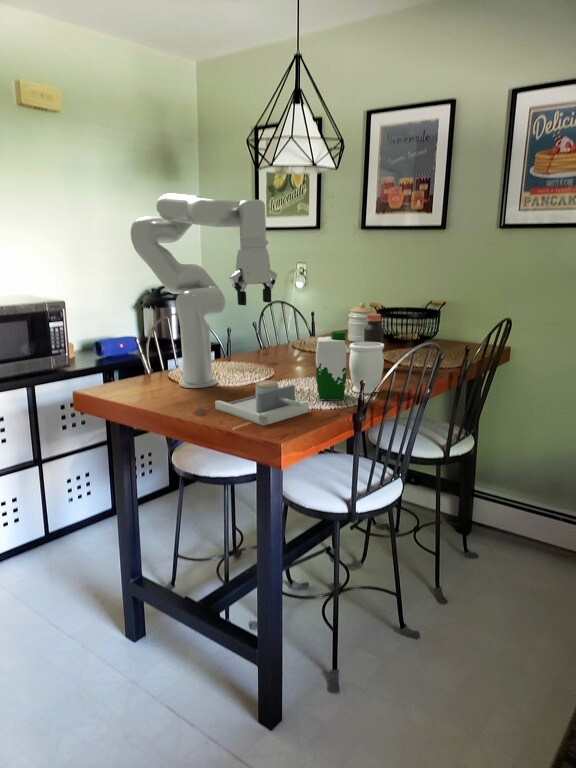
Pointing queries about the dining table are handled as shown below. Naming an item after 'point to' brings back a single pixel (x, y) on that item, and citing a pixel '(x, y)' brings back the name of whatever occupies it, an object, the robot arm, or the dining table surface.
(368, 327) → the bottle
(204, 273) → the robot arm
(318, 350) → the milk carton
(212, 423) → the dining table surface
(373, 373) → the jar
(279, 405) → the pusher
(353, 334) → the jar
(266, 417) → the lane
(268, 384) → the glazed jar
